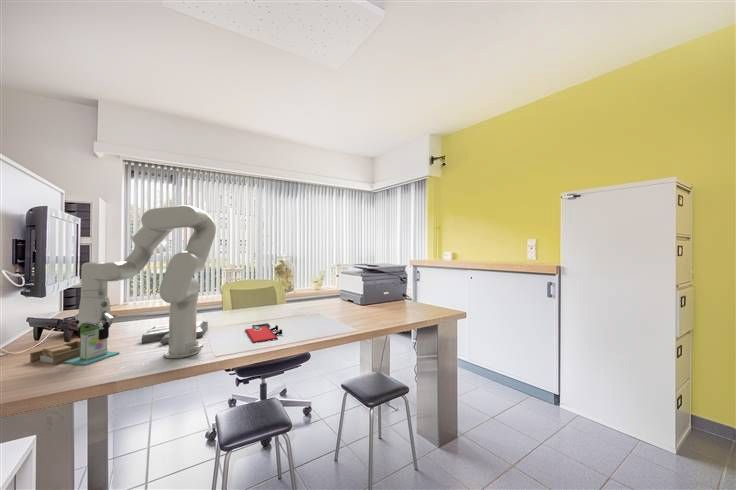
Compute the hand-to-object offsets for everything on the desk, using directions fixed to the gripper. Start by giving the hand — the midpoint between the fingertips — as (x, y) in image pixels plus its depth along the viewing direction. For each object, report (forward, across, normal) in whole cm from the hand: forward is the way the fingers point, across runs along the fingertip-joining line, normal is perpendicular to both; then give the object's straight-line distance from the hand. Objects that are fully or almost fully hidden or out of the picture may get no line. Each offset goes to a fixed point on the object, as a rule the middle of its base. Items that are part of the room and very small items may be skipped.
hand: (93, 337), depth 112 cm
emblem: (+9, -7, -32) cm, 34 cm away
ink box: (+7, 0, 0) cm, 7 cm away
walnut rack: (+8, +12, 0) cm, 14 cm away
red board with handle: (+9, -45, -46) cm, 65 cm away
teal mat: (+8, 0, 0) cm, 8 cm away
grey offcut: (+8, +12, +4) cm, 15 cm away
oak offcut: (+6, +12, +4) cm, 14 cm away
